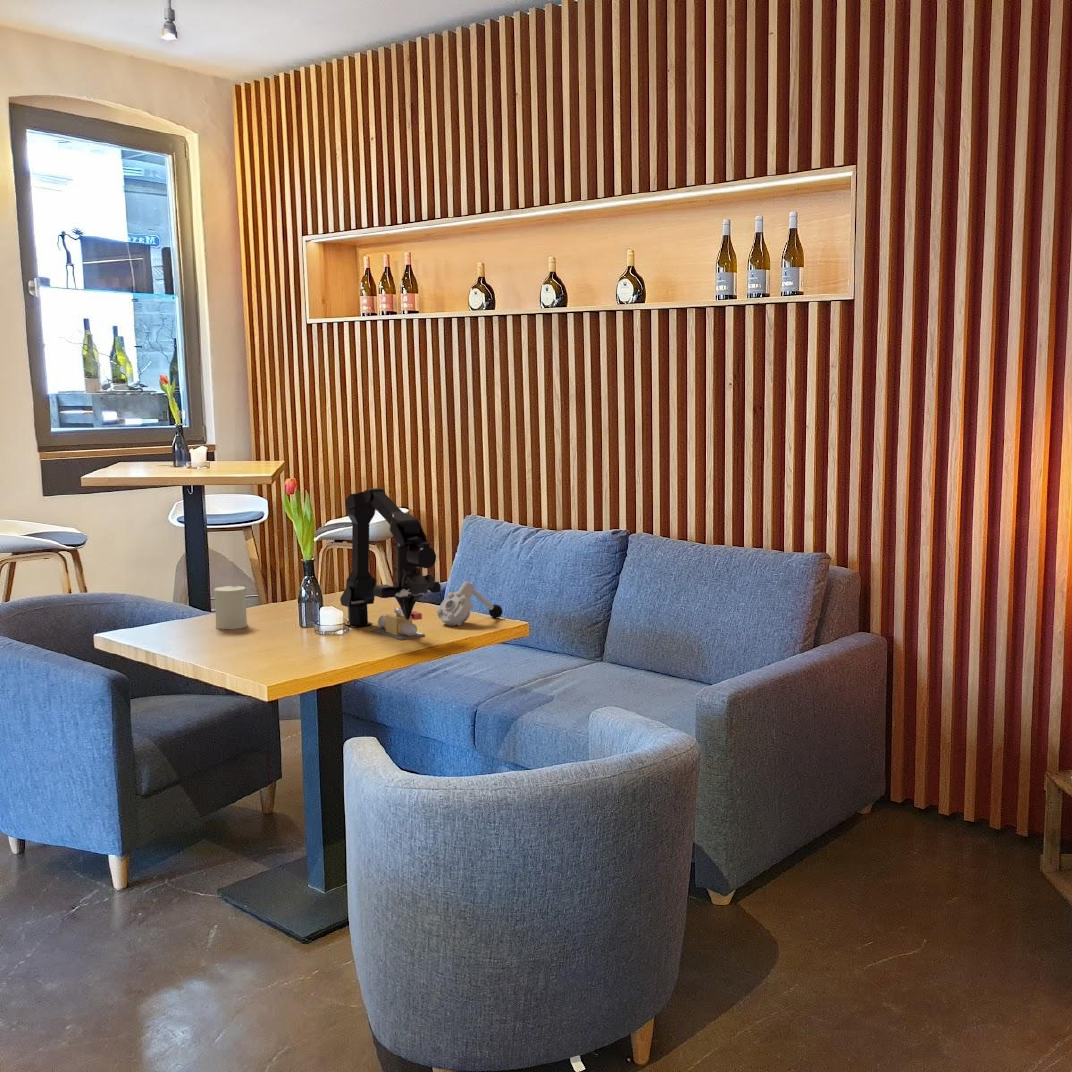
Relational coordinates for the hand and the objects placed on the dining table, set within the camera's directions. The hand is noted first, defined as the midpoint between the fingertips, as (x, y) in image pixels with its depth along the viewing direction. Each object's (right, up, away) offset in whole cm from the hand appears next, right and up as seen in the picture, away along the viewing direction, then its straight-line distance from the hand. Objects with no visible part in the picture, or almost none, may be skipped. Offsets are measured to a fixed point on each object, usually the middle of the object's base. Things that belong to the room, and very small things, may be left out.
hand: (407, 619), depth 313 cm
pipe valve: (-3, -5, +10) cm, 11 cm away
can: (-55, -4, +23) cm, 60 cm away
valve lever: (-1, +1, +5) cm, 5 cm away
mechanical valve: (+16, -3, +27) cm, 31 cm away
